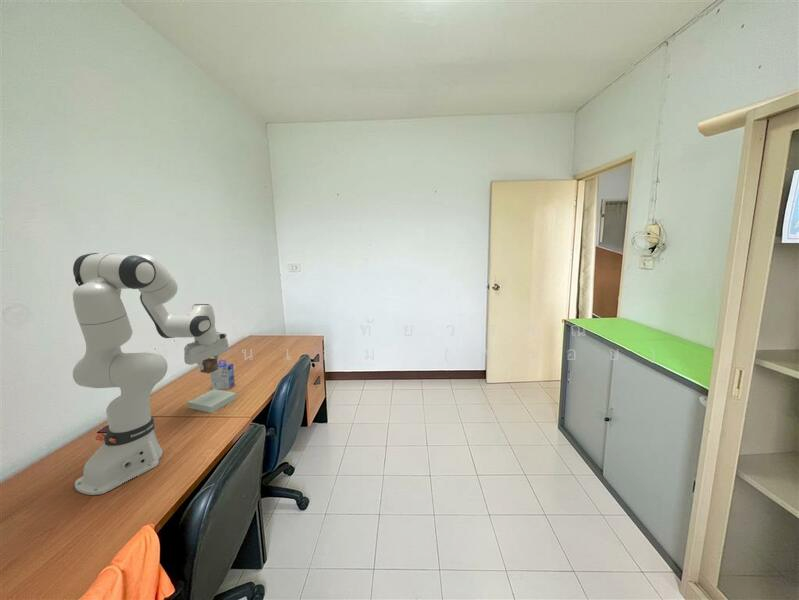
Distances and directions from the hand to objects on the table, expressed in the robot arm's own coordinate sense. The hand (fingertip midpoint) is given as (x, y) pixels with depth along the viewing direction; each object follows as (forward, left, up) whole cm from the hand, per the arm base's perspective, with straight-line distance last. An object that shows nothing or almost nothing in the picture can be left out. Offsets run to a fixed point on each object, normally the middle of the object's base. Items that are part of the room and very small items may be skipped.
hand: (209, 366), depth 146 cm
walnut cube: (0, 0, -2) cm, 2 cm away
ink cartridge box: (+15, +10, -19) cm, 26 cm away
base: (0, 0, -18) cm, 18 cm away
